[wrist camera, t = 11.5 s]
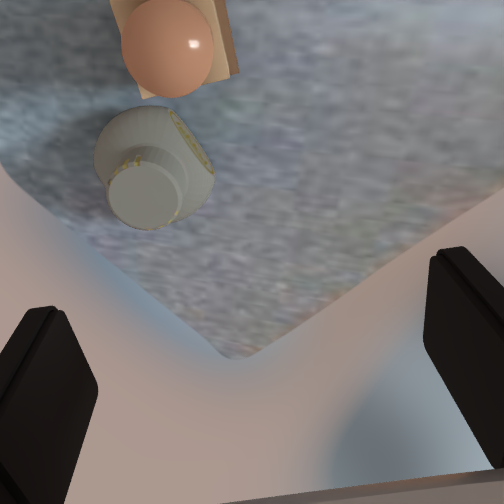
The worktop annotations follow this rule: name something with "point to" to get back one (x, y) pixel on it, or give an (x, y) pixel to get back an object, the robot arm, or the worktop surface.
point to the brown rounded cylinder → (168, 47)
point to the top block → (126, 3)
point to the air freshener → (152, 168)
